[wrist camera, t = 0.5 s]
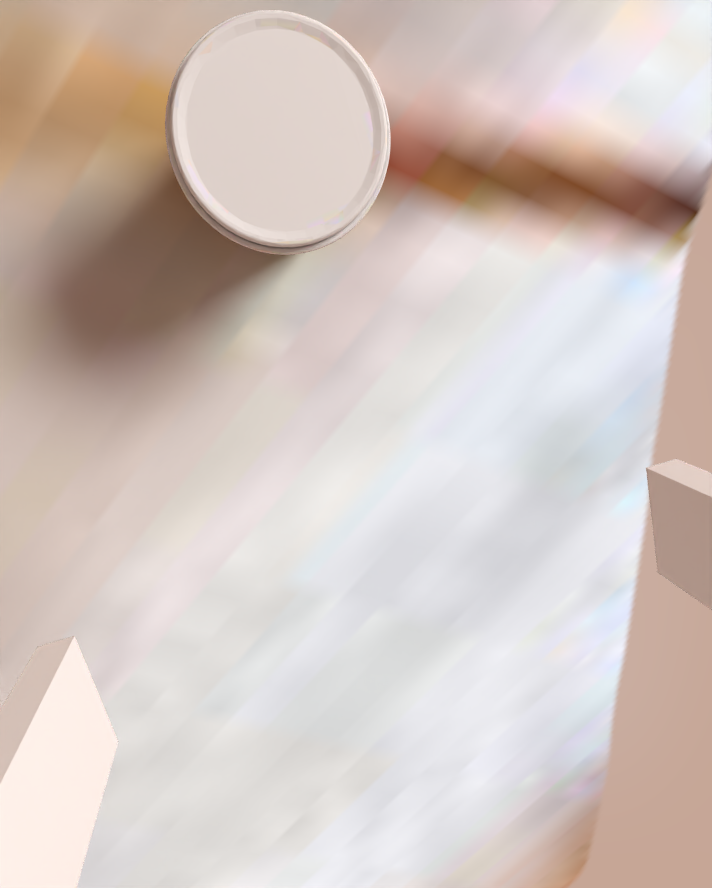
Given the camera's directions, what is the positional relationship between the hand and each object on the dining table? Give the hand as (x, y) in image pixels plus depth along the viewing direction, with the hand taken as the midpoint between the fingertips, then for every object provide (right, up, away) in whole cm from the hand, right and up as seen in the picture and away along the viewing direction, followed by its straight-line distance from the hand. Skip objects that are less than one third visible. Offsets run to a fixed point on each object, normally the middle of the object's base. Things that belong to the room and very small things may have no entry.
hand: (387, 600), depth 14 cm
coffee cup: (-6, +19, +23) cm, 30 cm away
